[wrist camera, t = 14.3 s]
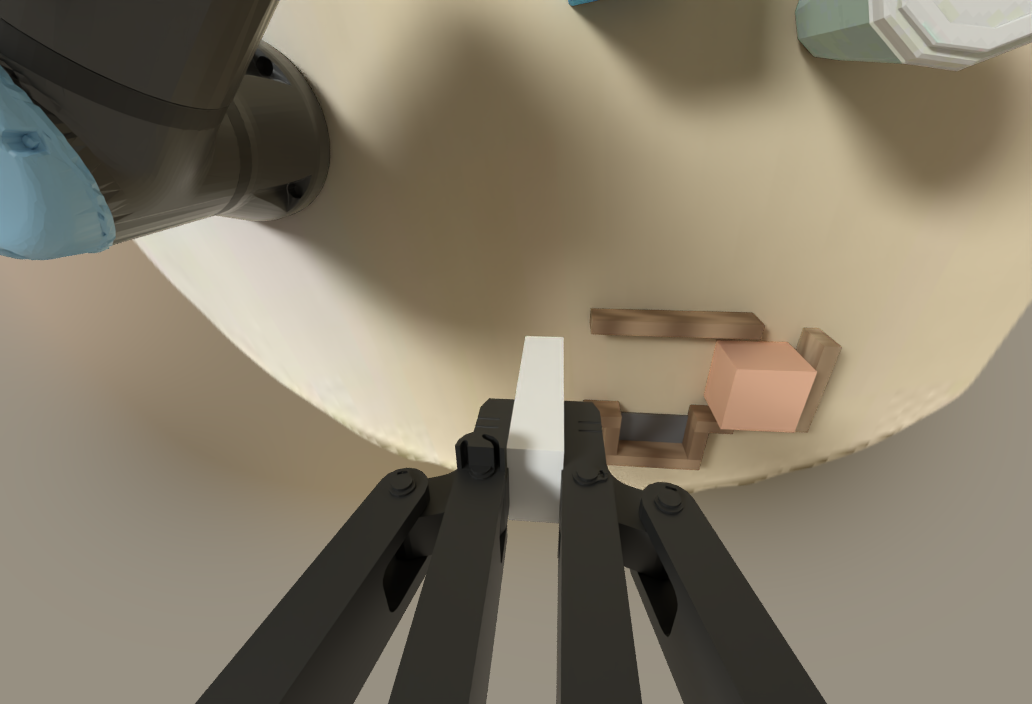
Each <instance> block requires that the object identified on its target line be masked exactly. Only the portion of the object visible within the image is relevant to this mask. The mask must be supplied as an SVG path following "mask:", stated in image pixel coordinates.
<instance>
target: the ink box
mask: <svg viewBox="0 0 1032 704" xmlns="http://www.w3.org/2000/svg"><path fill="white" fill-rule="evenodd" d="M593 1H597V0H568V2H569V5H571V6H574V5H579V4H584V3H589V2H593Z"/></svg>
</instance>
